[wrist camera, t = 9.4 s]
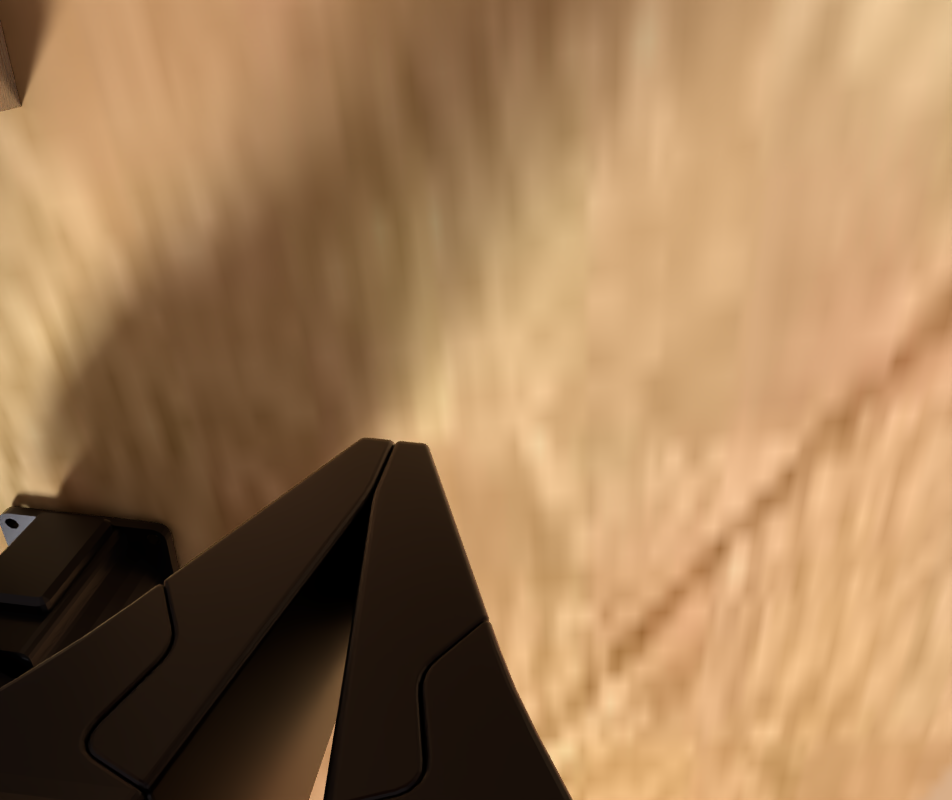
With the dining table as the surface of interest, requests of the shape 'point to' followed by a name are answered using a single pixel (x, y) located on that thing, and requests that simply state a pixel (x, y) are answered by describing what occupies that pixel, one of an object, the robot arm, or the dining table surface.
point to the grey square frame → (7, 79)
